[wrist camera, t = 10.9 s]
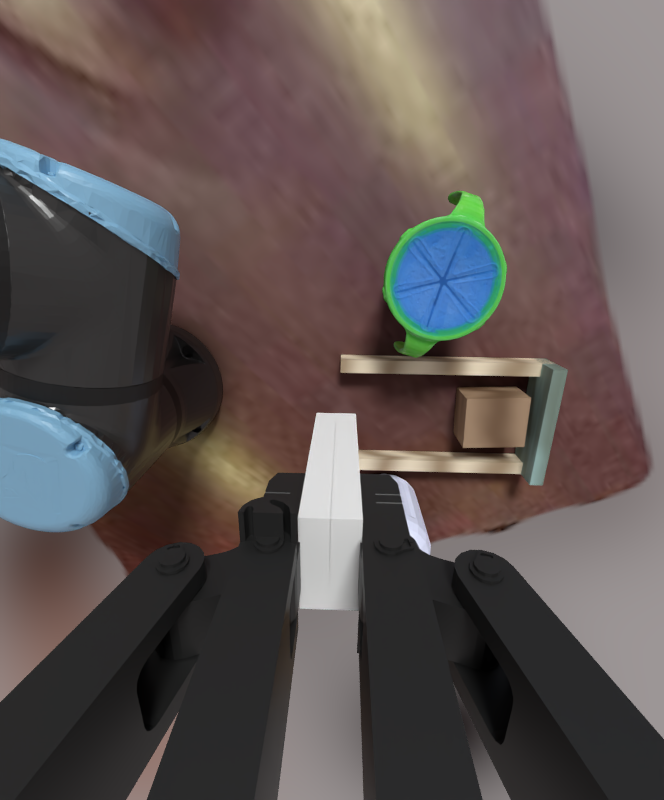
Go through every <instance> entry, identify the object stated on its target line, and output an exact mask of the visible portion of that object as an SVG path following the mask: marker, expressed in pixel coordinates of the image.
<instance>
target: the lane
mask: <svg viewBox="0 0 664 800" xmlns="http://www.w3.org/2000/svg"><path fill="white" fill-rule="evenodd" d="M567 372H568V370H567V369H565V368H563V367H561V366H559V365H557V364H555V363H553V362H551V361H549V360H547V359H536V358H484V357H431V356H420V357H418V358H414V357H411V356H379V355H341V373H381V374H430V375H480V376H529V380H528V386H527V391H526V394H527V395H528V396H529V397H531V404H530V411H529V417H528V424H527V431H526V438H525V445H524V447H516V450H515V454H504V453H464V452H423V451H383V450H358V455H359V469H360V470H384V471H423V472H461V473H500V474H521V475H522V476H523V477H524V478H525V480H526V481H527V482H528V483H529V485H543V481H544V477H545V472H546V468H547V463H548V459H549V454H550V449H551V445H552V440H553V436H554V431H555V427H556V422H557V417H558V413H559V408H560V404H561V399H562V395H563V390H564V385H565V381H566V376H567Z"/></svg>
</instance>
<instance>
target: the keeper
mask: <svg viewBox="0 0 664 800" xmlns="http://www.w3.org/2000/svg"><path fill="white" fill-rule="evenodd" d="M530 404H531V397H529V396H528V395H527V394H525V393H524V392H523V391H521V390H520V389H519V388H517V387H516V386H497V387H457V392H456V405H455V418H454V431H453V433H454V434H455V436H456V438H457V439H458V441H459V442H460V444H461V446H462V447H463V448H493V447H524V445H525V438H526V431H527V424H528V417H529V411H530Z"/></svg>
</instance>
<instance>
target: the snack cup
mask: <svg viewBox="0 0 664 800" xmlns="http://www.w3.org/2000/svg"><path fill="white" fill-rule="evenodd" d="M448 200H449V202H450V203H452V204H454V205H457V206H456V208H455V209H454V210H453V212H452V213H451V214H450V215H448V216H444V217H437V218H434V219H431V220H428V221H425V222H423V223H421V224H419V225H417V226H416V227H414V228H410V229H408V230H407V231H406V232H405V233H404V234H403V235H402V236H401V237H400V240H399V242H398V243H397V244H396V246H395V247H394V249H393V251H392V252H391V254H390V256H389V259H388V261H387V264H386V268H385V273H384V286H383V288H382V292H383V297H384V300H385V301H386V302H387V304H388V307H389V309H390V311H391V313H392V314H393V316H394V317H395V319H396V320H397V321H398V322H399V323H400V324H401V325H402V326H403V327H404V328H405V330H406V339H405V342H399V341H396V342H394V348H395V349H396V350H397V351H398V352H400V353H402V354H406V355H408V356H411V357H414V358H418V357H420V356H422V355H424V354H425V353H426V352H427V351H429V350H430V349H431V348H432V347H433V346H434V345H435V344H436V343H437V342H438V341H446V340H452V339H457V338H460V337H463V336H465V335H467V334H469V333H471V332H473V331H474V330H477V329H479V328H480V327H481V326H482V325H483V324H485V321H486V320H487V319H488V318H489V317H490V316H491V315H492V313H493V312H494V311H495V309H496V308H497V306H498V304H499V302H500V300H501V297H502V295H503V291H504V287H505V281H506V273H507V266H506V262H505V259H504V255H503V252H502V250H501V247H500V245H499V244H498V242H497V240H496V239H495V238H494V236H493V235H492V234H491V233H490V232H489V231H488V230H487V229H486V228H485V223H484V208H483V202H482V200H481V198H480V197H478V196H476V195H472V194H470V193H467V192H464V191H456V192H453V193H451V194H450V195H449V196H448Z"/></svg>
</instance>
